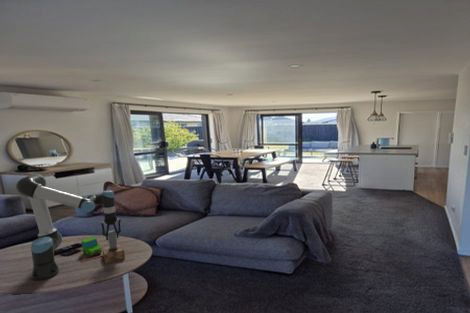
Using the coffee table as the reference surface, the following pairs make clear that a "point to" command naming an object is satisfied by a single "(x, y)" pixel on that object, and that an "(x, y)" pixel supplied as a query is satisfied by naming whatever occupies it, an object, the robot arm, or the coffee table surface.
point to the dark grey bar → (112, 240)
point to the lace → (91, 258)
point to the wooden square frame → (113, 253)
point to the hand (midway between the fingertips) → (112, 243)
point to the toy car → (91, 246)
